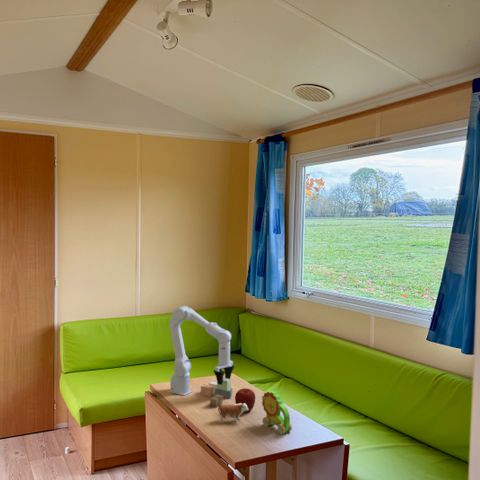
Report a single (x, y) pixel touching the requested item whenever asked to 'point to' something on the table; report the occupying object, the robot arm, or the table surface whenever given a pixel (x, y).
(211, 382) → the pale grey brick
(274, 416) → the toy lion
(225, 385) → the sage brick
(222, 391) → the charcoal brick
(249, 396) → the apple
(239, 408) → the bull figurine
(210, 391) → the terracotta brick
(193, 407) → the table surface
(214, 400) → the walnut brick
